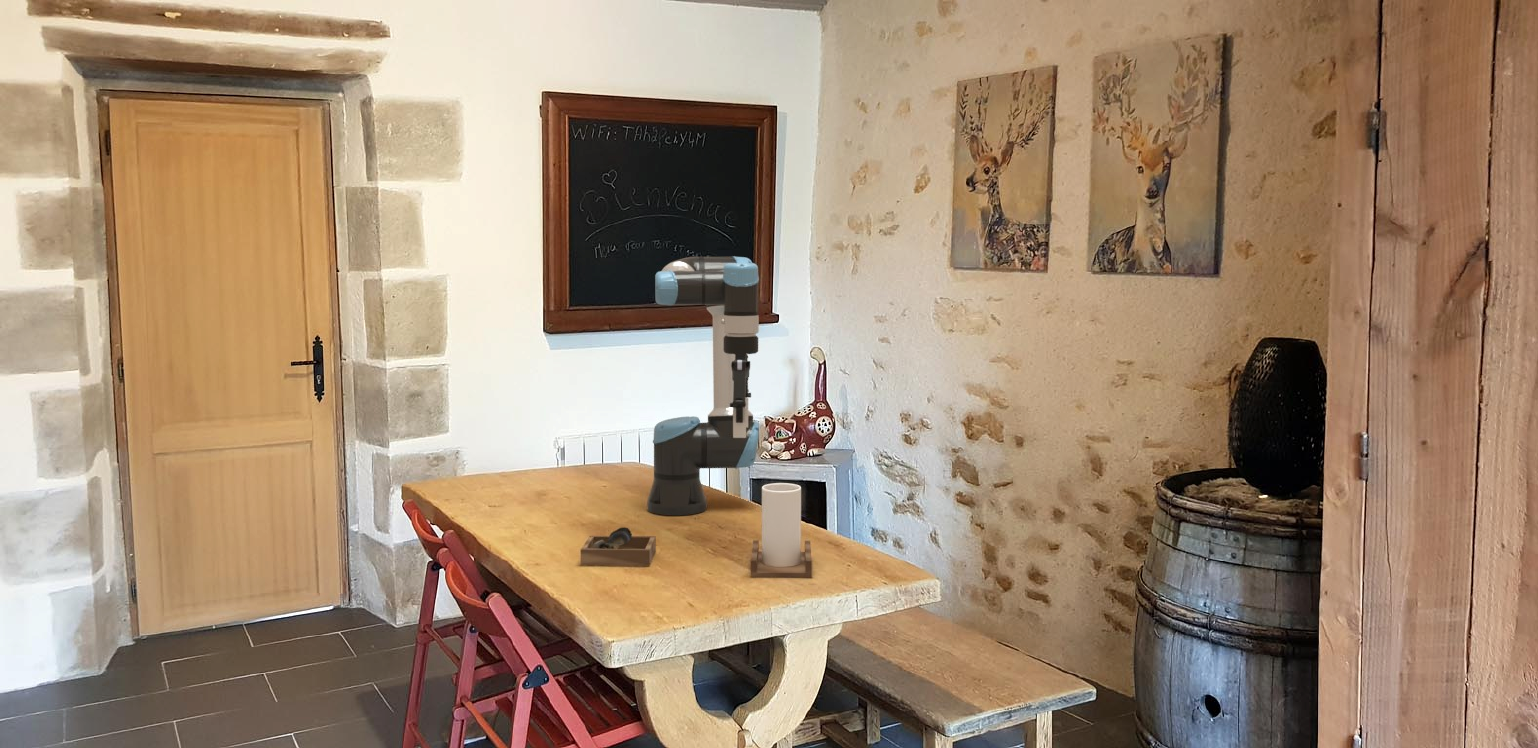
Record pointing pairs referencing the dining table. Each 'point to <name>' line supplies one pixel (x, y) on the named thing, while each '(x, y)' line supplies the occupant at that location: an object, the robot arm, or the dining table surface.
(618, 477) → the dining table surface
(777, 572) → the brown wooden tray
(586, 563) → the figurine frame
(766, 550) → the cup
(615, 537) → the eagle figurine
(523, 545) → the dining table surface
